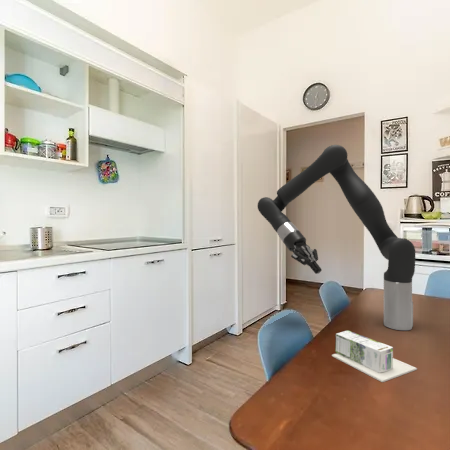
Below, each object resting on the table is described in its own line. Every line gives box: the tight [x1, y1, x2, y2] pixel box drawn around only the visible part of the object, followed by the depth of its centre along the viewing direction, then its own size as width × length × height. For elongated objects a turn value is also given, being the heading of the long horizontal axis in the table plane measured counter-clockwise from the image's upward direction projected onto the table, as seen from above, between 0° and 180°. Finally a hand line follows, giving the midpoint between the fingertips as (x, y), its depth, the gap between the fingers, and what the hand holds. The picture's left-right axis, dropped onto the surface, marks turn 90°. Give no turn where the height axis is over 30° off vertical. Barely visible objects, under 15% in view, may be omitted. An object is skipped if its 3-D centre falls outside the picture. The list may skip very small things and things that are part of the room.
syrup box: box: [334, 330, 394, 373], centre depth 83 cm, size 6×6×14 cm
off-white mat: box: [331, 352, 418, 383], centre depth 83 cm, size 14×16×1 cm
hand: (319, 272), depth 104 cm, fingers closed
